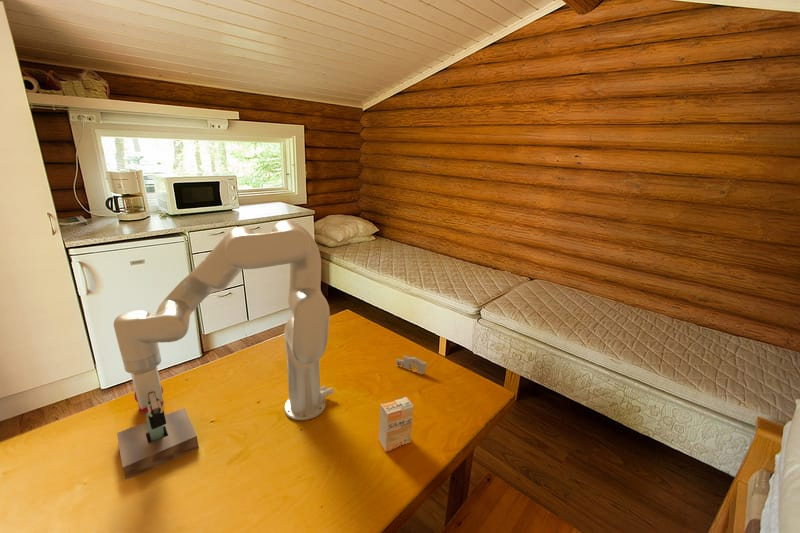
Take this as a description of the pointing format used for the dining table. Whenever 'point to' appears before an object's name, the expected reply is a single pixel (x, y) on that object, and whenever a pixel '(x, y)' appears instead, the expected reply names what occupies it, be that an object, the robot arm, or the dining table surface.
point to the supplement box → (395, 423)
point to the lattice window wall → (407, 364)
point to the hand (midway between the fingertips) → (155, 415)
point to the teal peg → (155, 431)
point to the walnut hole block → (156, 444)
